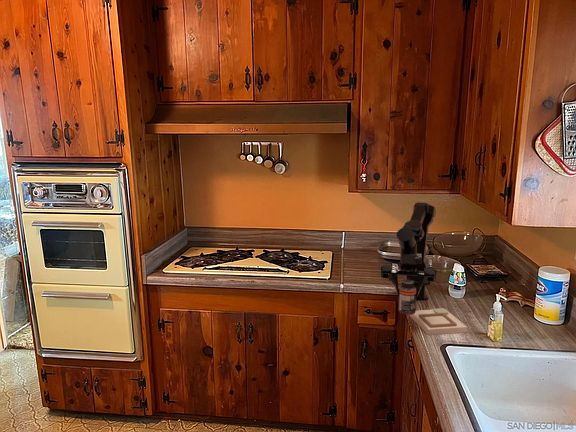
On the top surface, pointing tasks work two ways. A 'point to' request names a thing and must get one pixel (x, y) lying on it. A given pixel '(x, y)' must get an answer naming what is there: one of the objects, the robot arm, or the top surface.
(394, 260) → the top surface
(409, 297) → the supplement bottle
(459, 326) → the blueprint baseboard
